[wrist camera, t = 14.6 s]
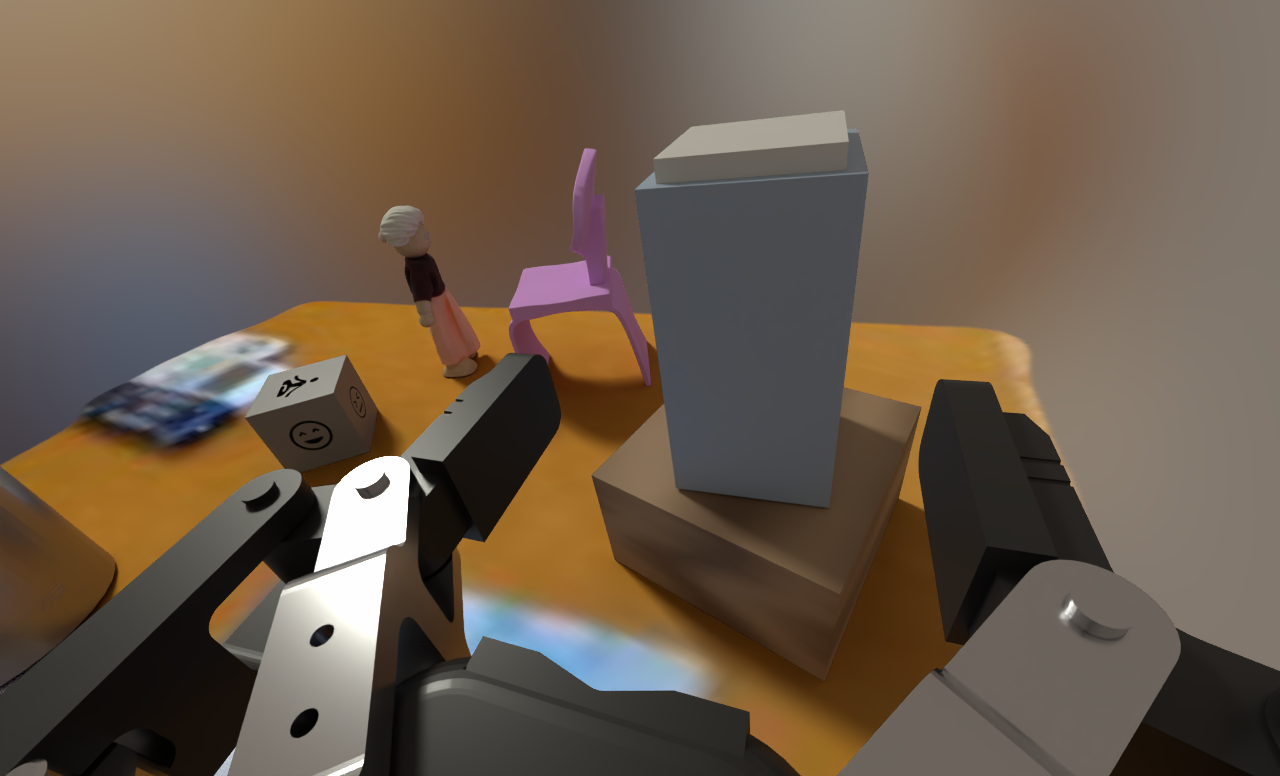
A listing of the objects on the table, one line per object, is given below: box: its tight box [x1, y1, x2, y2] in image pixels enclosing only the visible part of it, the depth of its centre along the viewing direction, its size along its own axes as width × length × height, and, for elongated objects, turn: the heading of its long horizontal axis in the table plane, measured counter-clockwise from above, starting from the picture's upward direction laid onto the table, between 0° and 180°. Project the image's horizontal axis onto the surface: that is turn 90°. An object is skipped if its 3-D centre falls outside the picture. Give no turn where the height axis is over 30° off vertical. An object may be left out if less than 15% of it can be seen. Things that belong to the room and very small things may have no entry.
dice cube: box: [245, 355, 378, 473], centre depth 33 cm, size 5×5×5 cm
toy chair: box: [509, 148, 651, 386], centre depth 33 cm, size 8×9×15 cm
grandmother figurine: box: [378, 206, 480, 377], centre depth 38 cm, size 8×4×13 cm, turn 26°
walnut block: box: [592, 387, 921, 681], centre depth 22 cm, size 10×10×6 cm
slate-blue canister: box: [635, 110, 869, 508], centre depth 17 cm, size 6×6×12 cm
